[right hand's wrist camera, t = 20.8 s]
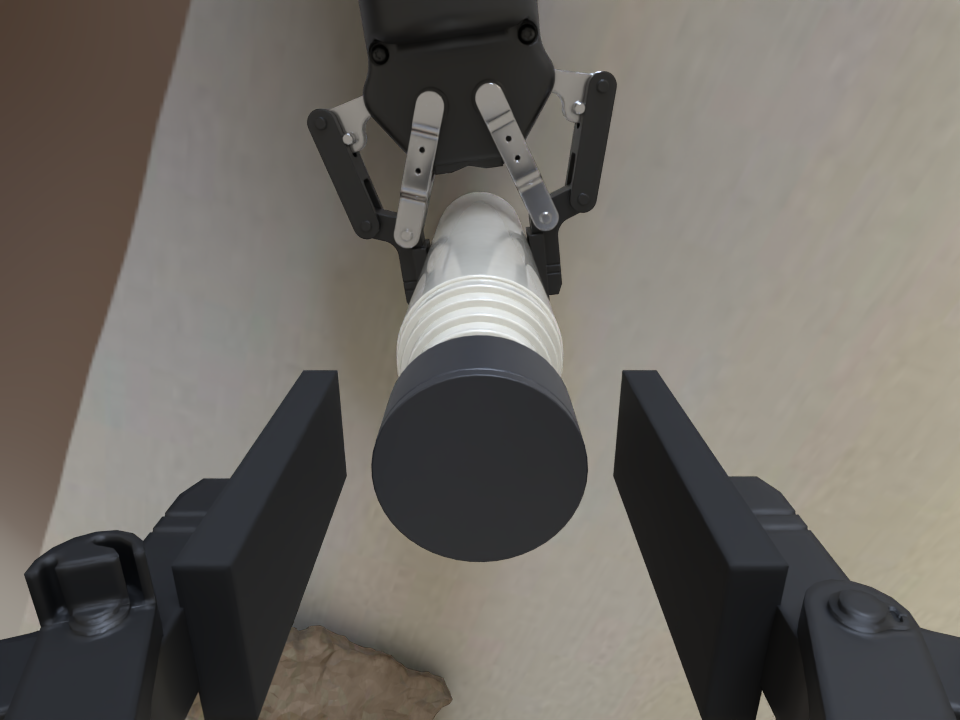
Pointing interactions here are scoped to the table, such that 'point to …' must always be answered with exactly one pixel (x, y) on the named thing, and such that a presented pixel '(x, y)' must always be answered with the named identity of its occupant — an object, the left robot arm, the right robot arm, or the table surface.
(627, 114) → the table surface
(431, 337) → the bottle
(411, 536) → the cap
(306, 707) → the stone
